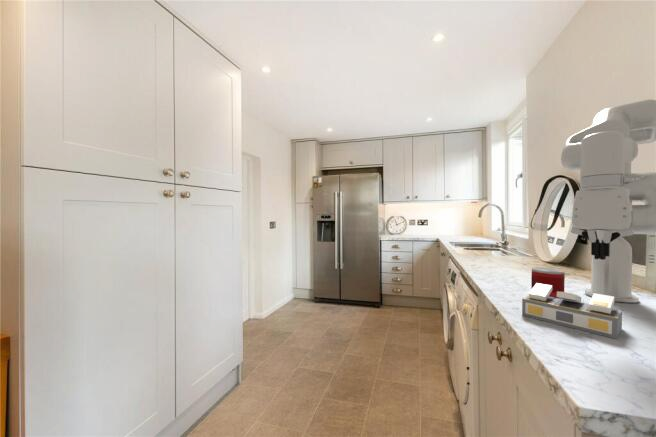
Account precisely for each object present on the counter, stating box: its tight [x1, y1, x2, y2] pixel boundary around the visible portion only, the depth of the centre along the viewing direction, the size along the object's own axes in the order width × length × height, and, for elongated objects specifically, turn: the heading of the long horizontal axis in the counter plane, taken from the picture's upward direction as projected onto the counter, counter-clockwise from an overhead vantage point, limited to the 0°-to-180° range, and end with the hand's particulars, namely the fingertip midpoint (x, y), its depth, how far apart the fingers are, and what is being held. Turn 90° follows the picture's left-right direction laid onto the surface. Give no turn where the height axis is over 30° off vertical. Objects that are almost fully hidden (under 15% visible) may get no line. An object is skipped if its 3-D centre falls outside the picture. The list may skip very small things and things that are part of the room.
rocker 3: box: [588, 293, 616, 314], centre depth 65 cm, size 7×4×2 cm, turn 127°
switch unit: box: [521, 295, 623, 340], centre depth 70 cm, size 9×18×5 cm, turn 37°
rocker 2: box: [557, 291, 582, 303], centre depth 70 cm, size 7×4×2 cm, turn 128°
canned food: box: [530, 266, 566, 299], centre depth 84 cm, size 8×8×11 cm
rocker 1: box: [528, 283, 552, 301], centre depth 74 cm, size 7×4×2 cm, turn 127°
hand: (600, 258), depth 65 cm, fingers closed
